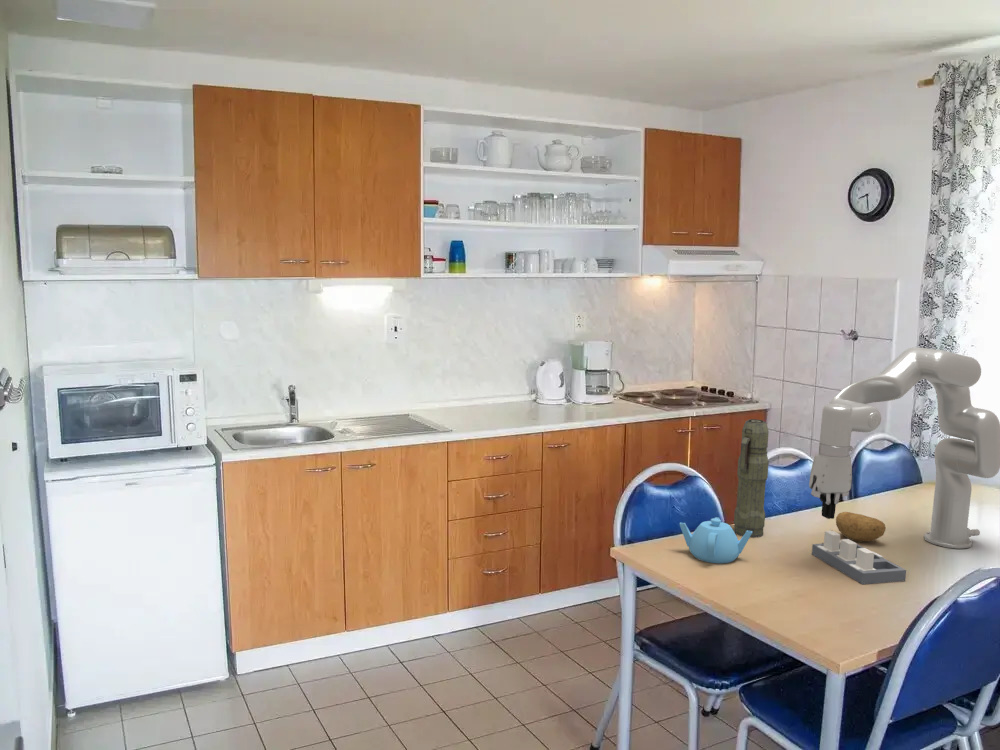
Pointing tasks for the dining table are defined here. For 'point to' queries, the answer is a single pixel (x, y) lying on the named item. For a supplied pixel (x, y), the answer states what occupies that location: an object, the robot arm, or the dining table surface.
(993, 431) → the robot arm
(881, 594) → the dining table surface
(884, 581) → the switch bank
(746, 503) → the thermos
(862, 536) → the potato
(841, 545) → the tab
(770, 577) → the dining table surface
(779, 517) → the dining table surface
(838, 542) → the tab
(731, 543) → the teapot
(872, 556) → the tab
